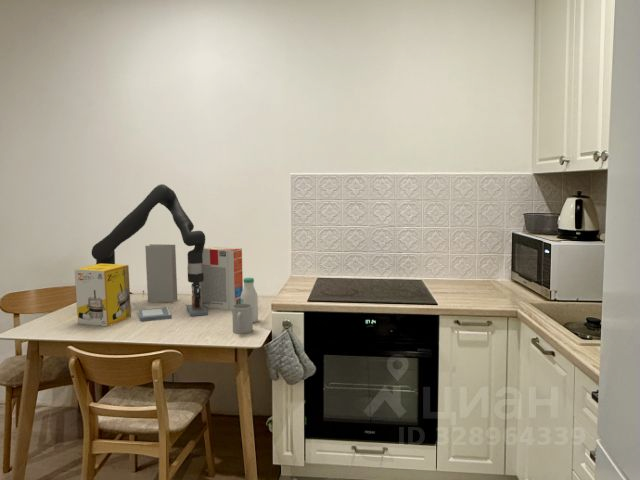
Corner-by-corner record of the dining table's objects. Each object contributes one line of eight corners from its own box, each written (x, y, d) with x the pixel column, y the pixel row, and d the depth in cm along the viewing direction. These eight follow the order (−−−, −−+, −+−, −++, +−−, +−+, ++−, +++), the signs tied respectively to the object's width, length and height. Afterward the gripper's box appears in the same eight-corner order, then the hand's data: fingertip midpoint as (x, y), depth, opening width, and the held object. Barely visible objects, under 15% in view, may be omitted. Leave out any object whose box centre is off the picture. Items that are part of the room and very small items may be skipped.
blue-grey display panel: (140, 321, 236) (139, 317, 236) (138, 313, 251) (138, 309, 251) (171, 318, 241) (171, 314, 241) (168, 310, 256) (168, 306, 256)
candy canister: (260, 319, 239) (260, 277, 237) (253, 324, 232) (252, 280, 229) (245, 318, 242) (245, 276, 239) (238, 322, 234) (237, 279, 232)
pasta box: (243, 306, 263) (241, 248, 259) (235, 310, 256) (233, 250, 252) (204, 302, 271) (203, 246, 268) (196, 306, 264) (193, 248, 260)
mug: (235, 327, 227) (234, 303, 225) (254, 328, 226) (254, 303, 225) (228, 336, 215) (227, 310, 213) (248, 336, 214) (248, 310, 213)
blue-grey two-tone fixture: (190, 316, 245) (190, 300, 244) (186, 308, 259) (186, 293, 258) (207, 314, 247) (207, 299, 247) (202, 306, 262) (202, 292, 261)
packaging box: (131, 316, 245) (128, 265, 242) (107, 326, 229) (104, 271, 226) (102, 314, 250) (100, 263, 246) (77, 323, 234) (74, 269, 231)
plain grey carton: (177, 299, 278) (175, 244, 275) (173, 302, 273) (171, 246, 269) (152, 299, 280) (149, 244, 276) (147, 301, 274) (145, 245, 270)
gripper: (185, 269, 256) (187, 303, 258) (189, 274, 243) (190, 310, 245) (201, 268, 259) (202, 302, 261) (205, 273, 246) (206, 308, 248)
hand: (196, 305), depth 253 cm, fingers closed on blue-grey two-tone fixture, 4 cm apart
